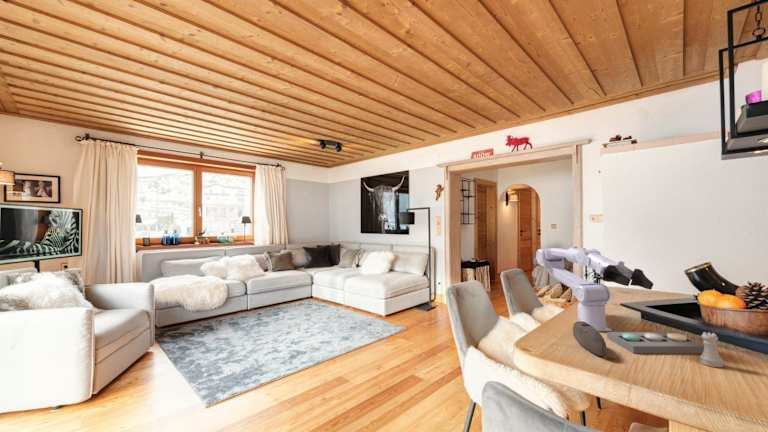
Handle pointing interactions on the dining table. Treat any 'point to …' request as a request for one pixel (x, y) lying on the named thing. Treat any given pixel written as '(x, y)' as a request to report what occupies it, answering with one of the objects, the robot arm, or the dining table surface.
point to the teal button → (631, 337)
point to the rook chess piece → (711, 351)
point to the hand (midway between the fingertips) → (640, 284)
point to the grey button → (653, 337)
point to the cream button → (676, 337)
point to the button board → (656, 344)
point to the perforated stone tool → (589, 338)
